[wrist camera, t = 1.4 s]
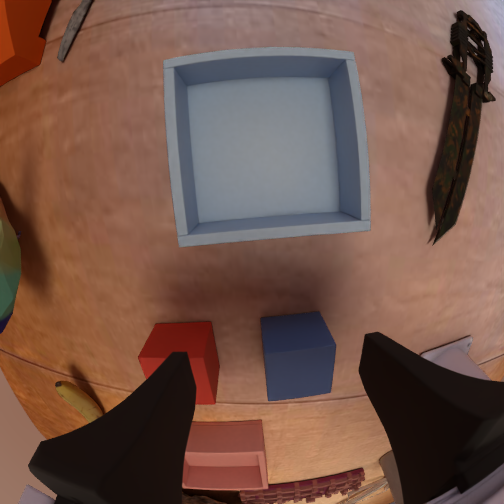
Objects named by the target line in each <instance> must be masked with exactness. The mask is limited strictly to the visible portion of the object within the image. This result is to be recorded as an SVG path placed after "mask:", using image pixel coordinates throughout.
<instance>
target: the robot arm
mask: <svg viewBox="0 0 504 504" xmlns="http://www.w3.org/2000/svg"><path fill="white" fill-rule="evenodd" d="M472 341H473V337H471V336H469V337H466V338H464V339H461V340H459V341H456V342H454V343H451V344H448V345H445V346H443V347H440V348H437V349H434V350H431V351H428V352H425V353H423V354H422V355H421V356H419V355H417V354H416V353H414V352H412V351H410V350H409V349H407V348H405V347H404V346H402V345H400V344H399V343H397V342H395V341H394V340H392V339H390V338H389V337H387V336H385V335H383V334H381V333H380V332H373V333H368V334H365V337H364V343H363V349H362V355H361V360H360V366H359V374H360V377H361V380H362V383H363V386H364V389H365V391H366V393H367V395H368V397H369V399H370V401H371V403H372V405H373V407H374V409H375V411H376V413H377V415H378V416H379V418H380V420H381V422H382V424H383V426H384V429H385V431H386V433H387V436H388V438H389V441H390V444H391V448H392V451H393V454H394V458H395V461H396V465H397V469H398V473H399V478H400V483H401V488H402V495H403V502H404V504H504V382H498V381H492V380H491V379H490V378H489V377H488V376H487V375H486V374H485V373H484V372H483V371H482V370H481V369H480V368H479V367H478V366H477V365H476V364H475V363H474V362H473V361H472V360H471V359H470V357H469V356H468V352H469V349H470V346H471V344H472ZM196 391H197V387H196V383H195V379H194V376H193V372H192V368H191V365H190V361H189V357H188V353H187V352H172V353H171V354H170V355H169V356H168V357H167V358H166V359H165V360H164V361H163V363H162V364H161V365H160V366H159V367H158V368H157V369H156V370H155V371H154V372H153V373H152V374H151V375H150V376H149V377H148V378H147V380H146V381H145V382H144V383H143V384H142V385H140V386H139V387H138V388H137V389H136V390H135V391H134V392H133V393H132V394H131V395H130V396H128V397H127V398H126V399H125V400H124V401H122V402H121V403H120V404H118V405H117V406H116V407H114V408H113V409H112V410H110V411H109V412H107V413H106V414H104V415H102V416H101V417H99V418H97V419H96V420H94V421H92V422H91V423H89V424H87V425H85V426H83V427H81V428H79V429H76V430H74V431H72V432H69V433H67V434H64V435H61V436H58V437H55V438H52V439H49V440H45V441H41V442H40V444H39V446H38V448H37V450H36V452H35V453H34V455H33V457H32V459H31V461H30V463H29V464H28V467H29V469H30V471H31V472H32V474H33V475H34V476H35V477H36V478H37V479H39V480H40V481H41V482H42V483H43V484H44V485H46V486H47V487H48V488H49V489H50V490H52V491H53V492H54V493H55V494H57V497H56V500H54V499H53V498H51V497H50V496H48V495H46V494H44V493H42V492H41V491H39V490H37V489H35V488H33V487H32V486H30V485H26V488H25V489H24V492H23V494H22V496H21V498H20V501H19V503H18V504H182V483H183V468H184V457H185V451H186V446H187V442H188V437H189V433H190V429H191V424H192V420H193V415H194V410H195V403H196Z"/></svg>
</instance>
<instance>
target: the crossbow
mask: <svg viewBox="0 0 504 504" xmlns="http://www.w3.org/2000/svg"><path fill="white" fill-rule="evenodd" d="M386 484H387V486H386V487H385V488H384V490H385V491H387V489H388V488H389V485H388V483H387V480H386V478H383V479H380V480H378V481H375V482H373V483H370V484H368V485H365V486H363V487H360V488H359V490H358V491H350V492H348V493H347V494H348V496H350V495H352V494H355V493H357V492H360V491H362V490H365V489H367V488H370V487H372V486H373V487H372V488H370V489H368V490H367V491H365V492H363V493H362V494H360V495H358V496H357V497H355V498H353V499H351V500H349V501H348V499H347V501H348V502H346V503H345V501H343V502H340V504H355V503H356V502H357V503H358V501H359V500H361V499H363V498H365V497H367V496H368V495H370V494H372V493H373V492H375V491H377V490H378V489H380V488H382V487H383V486H384V485H386ZM385 491H384V492H385ZM379 494H380V493H379ZM377 495H378V494H377ZM372 497H373V496H372ZM348 498H349V497H348ZM370 498H371V497H370ZM367 499H368V498H367ZM365 500H366V499H365ZM362 501H363V500H362Z"/></svg>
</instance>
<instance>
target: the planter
mask: <svg viewBox="0 0 504 504" xmlns="http://www.w3.org/2000/svg"><path fill="white" fill-rule="evenodd" d="M379 462H380V465H381V467H382V470H383V472H384V475H385V477H386V480H387V483H388V485H389V488H390V490H391V493H392V496H393V498H394V501H395V503H396V504H404V502H403V495H402V488H401V483H400V478H399V473H398V469H397V465H396V461H395V458H394V454H393V451H390V452H388V453H386V454H385V455H384V456H383V457H382V458H381V459H380V461H379Z"/></svg>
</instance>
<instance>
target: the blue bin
mask: <svg viewBox="0 0 504 504" xmlns="http://www.w3.org/2000/svg"><path fill="white" fill-rule="evenodd" d="M163 69H164V71H163V75H164V105H165V124H166V139H167V151H168V162H169V173H170V182H171V191H172V200H173V208H174V215H175V223H176V230H177V235H178V244H179V247H189V246H200V245H210V244H221V243H232V242H243V241H254V240H265V239H277V238H288V237H300V236H312V235H324V234H337V233H349V232H362V231H370V230H371V221H370V176H369V159H368V146H367V135H366V126H365V117H364V109H363V102H362V95H361V89H360V83H359V77H358V72H357V67H356V62H355V57H354V53H353V52H349V51H341V50H331V49H319V48H299V47H264V48H244V49H232V50H222V51H214V52H206V53H200V54H193V55H188V56H182V57H177V58H172V59H167V60H164V61H163Z"/></svg>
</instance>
